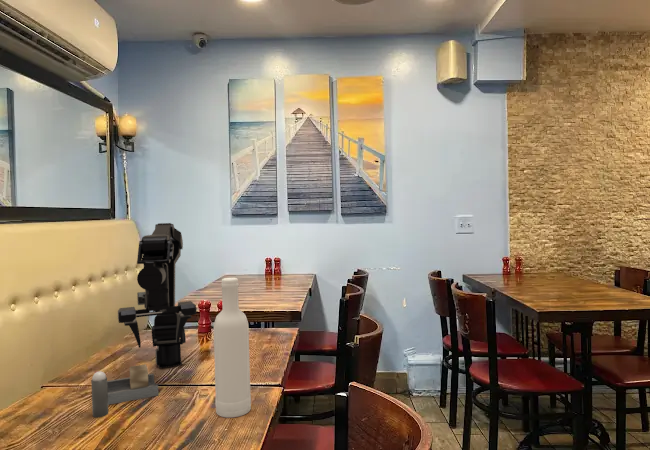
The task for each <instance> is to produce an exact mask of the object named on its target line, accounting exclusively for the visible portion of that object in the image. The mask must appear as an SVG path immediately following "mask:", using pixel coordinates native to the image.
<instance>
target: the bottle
mask: <svg viewBox="0 0 650 450" xmlns="http://www.w3.org/2000/svg"><path fill="white" fill-rule="evenodd" d="M239 286H240V284H239V278H237V277H224V278H222V279H221V283H220V288H221V296H222V297H221V300H222V310H221V311H220V312H219V313H218V314H217V315H216V317H215V318H214V319H215V320H214V323H213V346H214V347H213V349H214V350H213V352H214V380H215V381H214V383H215V384H214V386H215V391H214V392H215V401H214V402H215V405H214V406H215V414H217V416H220V417H222V418H237V417H242V416H244V415H246V414H248V413H249V412H250V411H251V410H252V406H251V404H252V398H251V397H252V394H251V370H250V367H251V366H250V335H249V334H250V332H249V329H250V328H249V322H248V318H247V316H246V313H244V312H243V311H242V310H241V309H240V306H239V304H240V302H239V301H240V300H239V299H240V298H239Z"/></svg>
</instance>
